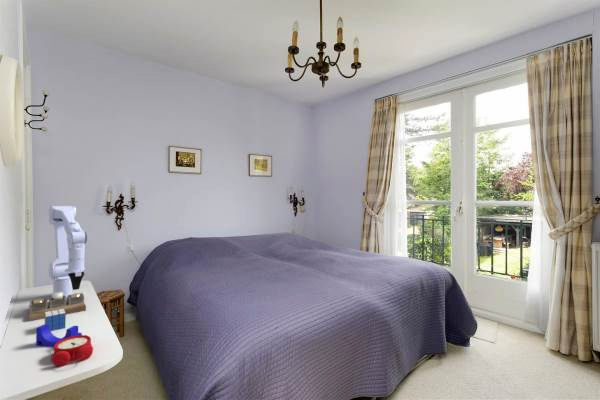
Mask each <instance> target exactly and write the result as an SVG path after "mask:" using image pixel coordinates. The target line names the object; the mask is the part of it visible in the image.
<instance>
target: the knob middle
mask: <svg viewBox="0 0 600 400" xmlns="http://www.w3.org/2000/svg"><path fill="white" fill-rule="evenodd" d="M52 294H53V300H59V299H63V292H55V293H53V292H52Z"/></svg>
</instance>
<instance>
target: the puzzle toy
mask: <svg viewBox="0 0 600 400" xmlns="http://www.w3.org/2000/svg"><path fill="white" fill-rule="evenodd" d="M66 315H67V314H66V313H65V310H64V309H60V310H54V311H49V312H45V318H44V324H49V329H50V331H51V332H55V331H58V330H63V329H66V318H67V317H66Z"/></svg>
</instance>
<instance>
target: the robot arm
mask: <svg viewBox="0 0 600 400" xmlns="http://www.w3.org/2000/svg"><path fill="white" fill-rule="evenodd" d="M76 216H77V208H76V206H75V205H50V206H49V208H48V222H49V224H50V225H53V229H54V235H55V251H56V254H55V255H56V257H55V258H54V260H53V261H51V262H50V263H49V265H48V266H49V270H48V277H49V279H51V280H52V281H53V282H52V283H53V284H52V285H53V286H52V294H51V298H52V297H53V293H55V292H63V296H66V299H67V296H68V295H72V294H74V293H73V291H74V290H75V291H77V290H79V289H80V287H81V283H82V280H83V278H84V276H85V272H84V271H85V269H86V268H85V258H86V257H85V254H86V253H85V249H86V248H85V247H86V244H87V242H88V235H87V231H86V230H84V229H82V227H81V226H80V223H79V222H78V221H76V220H75V218H76Z"/></svg>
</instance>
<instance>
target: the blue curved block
mask: <svg viewBox="0 0 600 400" xmlns="http://www.w3.org/2000/svg"><path fill="white" fill-rule="evenodd" d="M35 335H36V336H35V345H36V346H38V347H53V348H54V346H55V344H56V343H57V342H58V341H61V340H63V339H65V338H69V337H73V336H79V335H83V332H79V325H73V326H71V327H69V328H67V329H66V332H65V335H64V336H63V337H58V336H56V335H55V334H53V333H52V331H50V329H49V324H45V323H44V324H42V325H38V327H36V329H35Z"/></svg>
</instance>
